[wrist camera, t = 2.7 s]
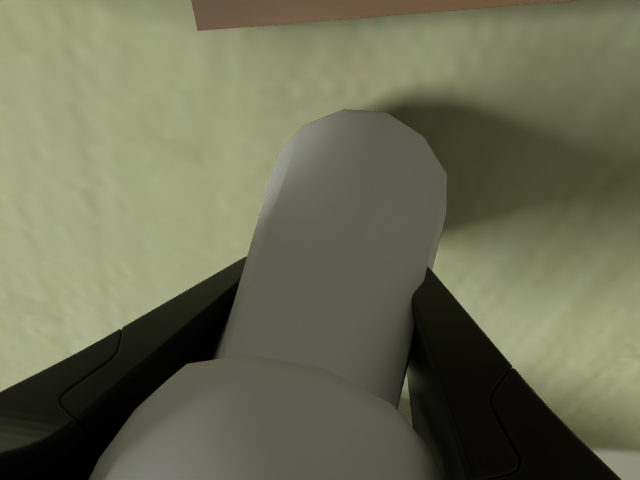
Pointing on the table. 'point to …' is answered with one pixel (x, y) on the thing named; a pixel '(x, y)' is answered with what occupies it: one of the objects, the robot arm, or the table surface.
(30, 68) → the table surface
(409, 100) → the table surface
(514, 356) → the table surface
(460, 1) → the socket block
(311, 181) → the salt shaker
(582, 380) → the table surface
